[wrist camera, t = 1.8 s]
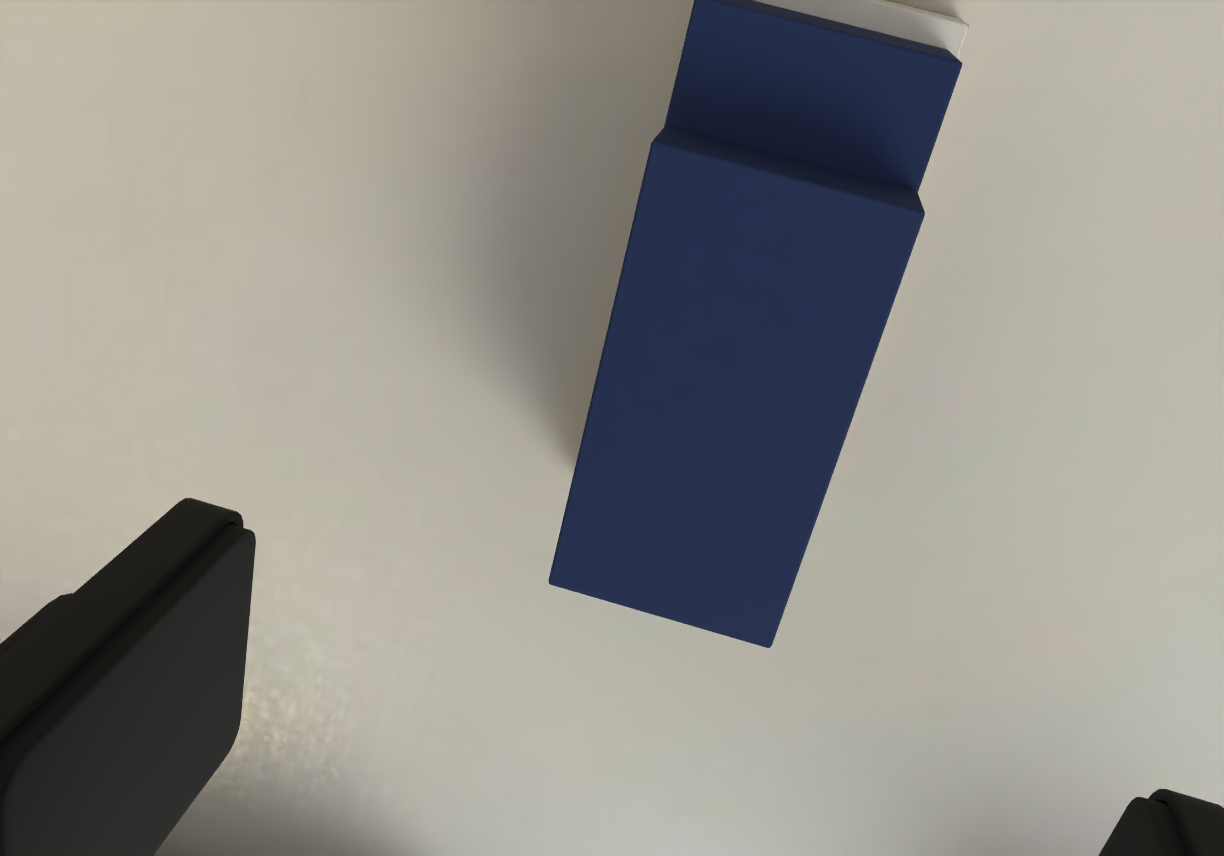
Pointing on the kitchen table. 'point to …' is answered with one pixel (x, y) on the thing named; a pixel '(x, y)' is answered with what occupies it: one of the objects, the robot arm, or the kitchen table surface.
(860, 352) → the two-tone stepped block
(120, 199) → the kitchen table surface
